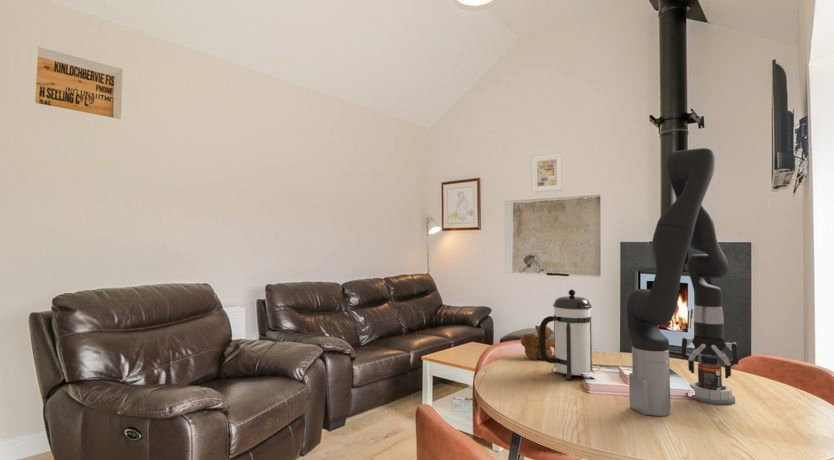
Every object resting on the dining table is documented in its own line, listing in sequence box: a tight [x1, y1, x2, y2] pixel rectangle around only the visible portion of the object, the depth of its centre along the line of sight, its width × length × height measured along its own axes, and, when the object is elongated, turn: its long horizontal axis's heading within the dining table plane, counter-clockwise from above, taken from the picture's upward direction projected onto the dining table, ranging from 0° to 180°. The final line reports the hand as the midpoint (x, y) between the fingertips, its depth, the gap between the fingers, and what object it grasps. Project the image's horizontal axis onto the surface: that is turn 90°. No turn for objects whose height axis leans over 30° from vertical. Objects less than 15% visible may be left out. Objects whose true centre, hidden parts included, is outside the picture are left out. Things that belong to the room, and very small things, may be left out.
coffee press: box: [539, 289, 594, 382], centre depth 158 cm, size 17×16×30 cm
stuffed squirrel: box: [519, 325, 555, 361], centre depth 182 cm, size 10×14×13 cm
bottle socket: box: [689, 380, 736, 406], centre depth 135 cm, size 12×12×4 cm
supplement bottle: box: [697, 354, 723, 390], centre depth 135 cm, size 6×6×11 cm
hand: (709, 375), depth 135 cm, fingers open, 8 cm apart
